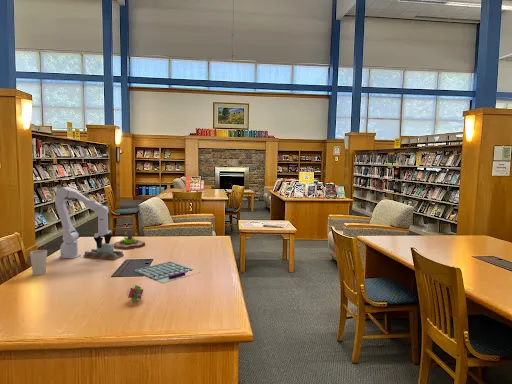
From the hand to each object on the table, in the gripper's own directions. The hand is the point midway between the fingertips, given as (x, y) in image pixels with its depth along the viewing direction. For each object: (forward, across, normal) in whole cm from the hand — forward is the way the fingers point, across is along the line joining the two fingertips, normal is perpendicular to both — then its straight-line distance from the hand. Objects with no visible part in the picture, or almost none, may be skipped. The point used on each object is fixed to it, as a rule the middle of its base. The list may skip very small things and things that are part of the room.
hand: (103, 246), depth 230 cm
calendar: (+7, -16, -54) cm, 57 cm away
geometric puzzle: (+6, -58, -59) cm, 83 cm away
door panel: (+5, 0, -1) cm, 5 cm away
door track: (+6, 0, 0) cm, 7 cm away
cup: (+7, -39, +11) cm, 41 cm away
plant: (+7, +29, +1) cm, 30 cm away
